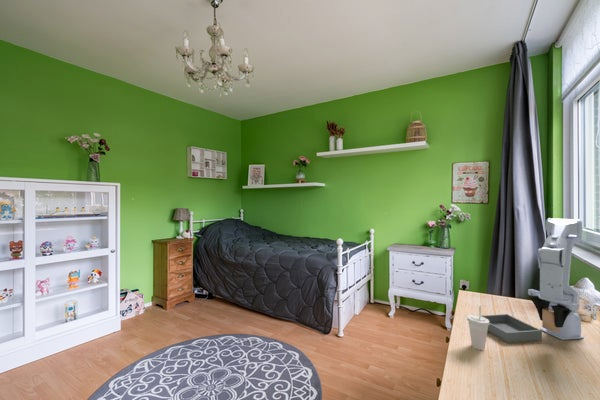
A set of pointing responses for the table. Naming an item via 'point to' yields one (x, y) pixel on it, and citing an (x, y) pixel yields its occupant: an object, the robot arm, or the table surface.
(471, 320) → the smoothie
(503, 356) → the table surface
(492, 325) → the tub
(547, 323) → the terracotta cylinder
